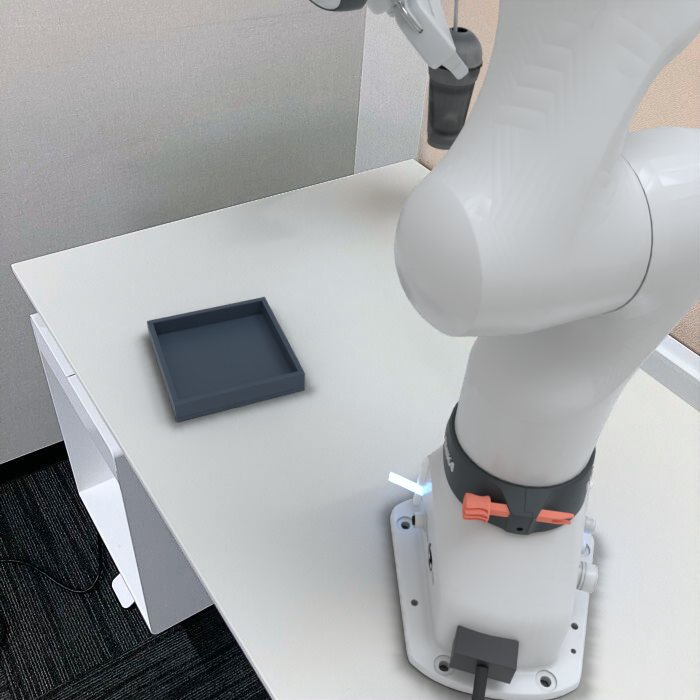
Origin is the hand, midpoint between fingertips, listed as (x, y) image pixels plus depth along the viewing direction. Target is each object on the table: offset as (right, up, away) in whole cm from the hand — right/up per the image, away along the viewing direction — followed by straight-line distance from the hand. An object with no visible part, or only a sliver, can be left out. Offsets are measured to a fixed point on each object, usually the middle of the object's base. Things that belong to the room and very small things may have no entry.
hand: (459, 61), depth 97 cm
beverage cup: (-1, -9, +8) cm, 12 cm away
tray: (-29, -39, -13) cm, 50 cm away
